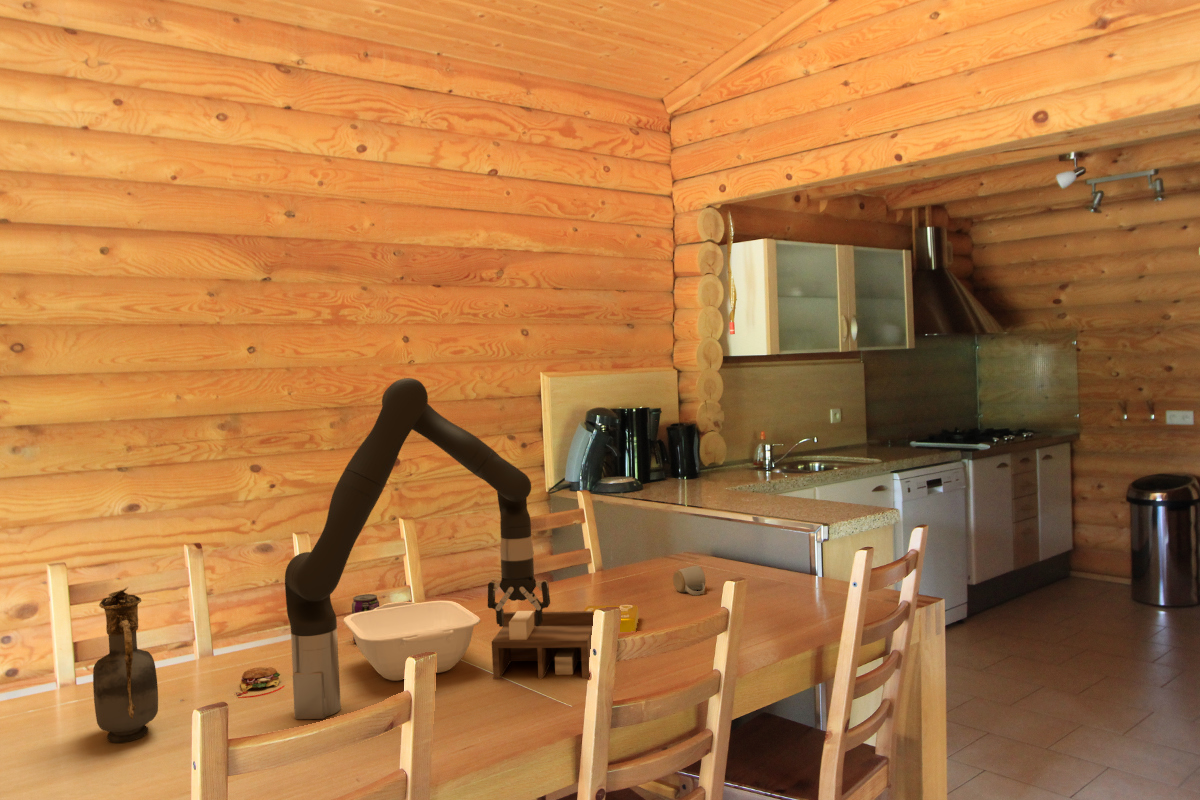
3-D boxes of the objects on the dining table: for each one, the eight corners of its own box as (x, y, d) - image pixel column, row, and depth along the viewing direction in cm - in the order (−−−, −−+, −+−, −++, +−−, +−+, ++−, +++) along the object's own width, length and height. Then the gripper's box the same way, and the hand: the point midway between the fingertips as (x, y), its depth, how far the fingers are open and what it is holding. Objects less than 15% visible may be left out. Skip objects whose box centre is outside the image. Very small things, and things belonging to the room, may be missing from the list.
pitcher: (153, 717, 188) (145, 576, 188) (165, 746, 172) (157, 592, 172) (93, 730, 182) (85, 584, 182) (101, 761, 166) (92, 601, 166)
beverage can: (373, 645, 234) (371, 600, 234) (348, 645, 236) (346, 600, 235) (385, 637, 241) (383, 593, 241) (361, 637, 243) (358, 593, 242)
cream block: (526, 639, 205) (525, 622, 205) (509, 639, 205) (508, 622, 205) (534, 627, 215) (533, 610, 215) (518, 627, 215) (517, 610, 215)
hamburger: (222, 685, 209) (220, 659, 209) (285, 675, 215) (284, 650, 214) (222, 703, 196) (221, 676, 196) (289, 692, 202) (288, 666, 202)
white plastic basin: (494, 678, 205) (491, 623, 204) (369, 703, 192) (366, 644, 192) (449, 642, 235) (447, 594, 235) (338, 661, 222) (336, 610, 222)
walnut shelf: (588, 678, 202) (586, 627, 202) (493, 678, 204) (491, 628, 204) (595, 658, 216) (593, 611, 216) (505, 659, 218) (503, 612, 218)
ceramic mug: (671, 590, 281) (670, 566, 281) (694, 587, 285) (693, 563, 285) (689, 598, 272) (688, 573, 272) (712, 594, 275) (711, 569, 275)
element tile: (586, 620, 252) (585, 603, 252) (639, 619, 250) (638, 602, 250) (579, 636, 237) (578, 618, 237) (635, 635, 236) (635, 617, 235)
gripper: (482, 560, 204) (486, 630, 204) (544, 558, 202) (547, 630, 203) (490, 553, 211) (493, 621, 211) (549, 552, 210) (552, 621, 210)
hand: (519, 625), depth 207 cm, fingers open, 8 cm apart
